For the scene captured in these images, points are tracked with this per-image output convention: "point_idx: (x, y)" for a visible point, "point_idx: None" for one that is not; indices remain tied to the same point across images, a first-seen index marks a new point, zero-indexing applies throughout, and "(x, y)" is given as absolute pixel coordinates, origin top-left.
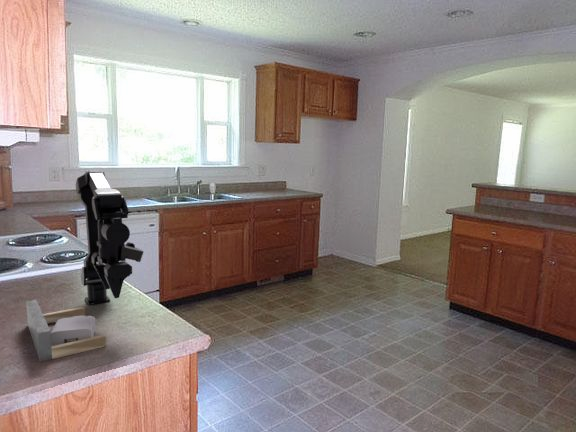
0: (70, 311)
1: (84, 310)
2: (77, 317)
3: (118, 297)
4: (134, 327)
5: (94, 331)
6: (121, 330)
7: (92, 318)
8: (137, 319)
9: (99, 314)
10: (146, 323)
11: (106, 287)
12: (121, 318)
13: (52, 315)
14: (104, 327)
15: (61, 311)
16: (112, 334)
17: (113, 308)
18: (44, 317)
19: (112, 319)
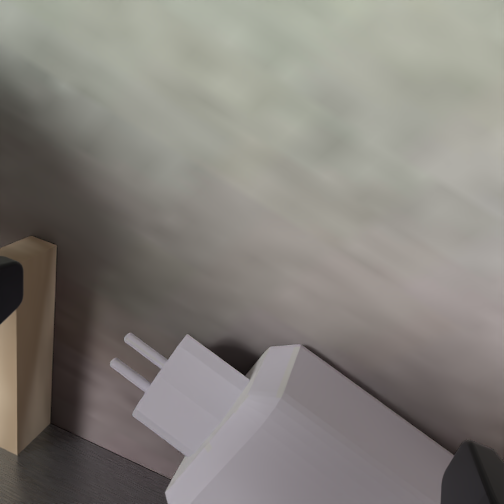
0: (19, 334)
1: (28, 263)
2: (228, 478)
3: (487, 453)
4: (478, 142)
5: (345, 382)
6: (436, 240)
7: (306, 434)
8: (346, 24)
9: (72, 175)
10: (500, 11)
11: (5, 311)
12: (230, 111)
13: (22, 403)
14: (291, 276)
15: (2, 366)
16: (442, 314)
17: (21, 47)
18: (25, 429)
19: (203, 167)
